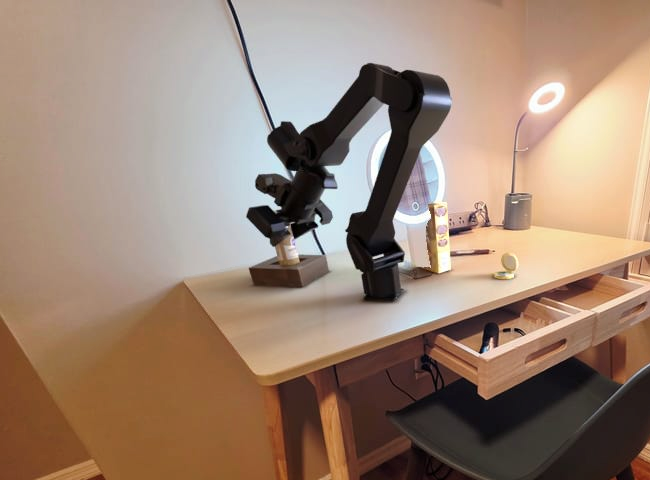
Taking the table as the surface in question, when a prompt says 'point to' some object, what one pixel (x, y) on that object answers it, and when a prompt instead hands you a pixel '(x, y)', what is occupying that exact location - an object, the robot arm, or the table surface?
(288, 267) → the holder
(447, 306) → the table surface
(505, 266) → the eyeshadow
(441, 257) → the candy box
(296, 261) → the sprinkles bottle
